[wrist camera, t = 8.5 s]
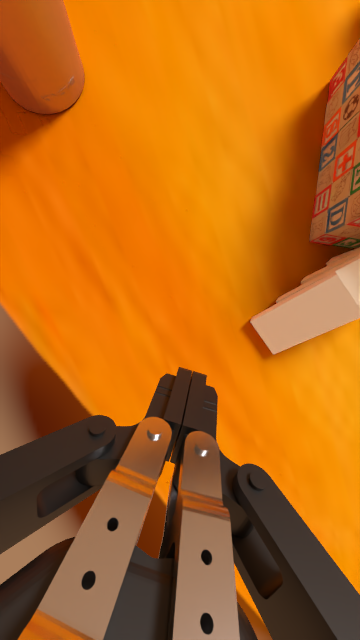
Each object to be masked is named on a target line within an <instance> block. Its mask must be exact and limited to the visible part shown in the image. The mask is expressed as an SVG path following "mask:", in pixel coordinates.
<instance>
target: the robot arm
mask: <svg viewBox="0 0 360 640" xmlns="http://www.w3.org/2000/svg"><path fill="white" fill-rule="evenodd" d="M0 82H1V83H2V85H3V86H4V88H5V89H6V91H7V92H8V93H9V95H10V96H11V98H12V99H13V100H14V101H15V102H16V103H18V104H19V105H20V106H22V107H23V108H25V109H27V110H29V111H32V112H35V113H40V114H54V113H58V112H61V111H63V110H65V109H67V108H69V107H70V106H71V105H72V104H74V103H75V101H76V100H77V99H78V98H79V96H80V94H81V92H82V89H83V85H84V70H83V66H82V63H81V59H80V56H79V53H78V49H77V46H76V43H75V39H74V36H73V33H72V29H71V25H70V22H69V19H68V15H67V12H66V9H65V5H64V2H63V0H0ZM191 374H192V376H191ZM206 377H207V375H204V374H201V373H198V372H195V371H193V373H192V371H191V370H188V369H184V368H181V367H179V369H178V372H177V376H174V375H170V374H165V375H164V376H163V377H162V378H160V381H159V383H158V386H157V388H156V391H155V393H154V396H153V398H152V401H151V403H150V406H149V409H148V411H147V414H146V416H145V418H144V419H143V420H142V421H141V422H140V423H138V424H136V425H133V426H116V425H115V423H114V421H113V420H112V419H110V418H109V417H107V416H103V415H95V416H91V417H89V418H86V419H84V420H82V421H79V422H77V423H75V424H72V425H70V426H68V427H65V428H63V429H60V430H58V431H56V432H53V433H51V434H49V435H46V436H44V437H42V438H39V439H37V440H34V441H32V442H30V443H27V444H25V445H23V446H20V447H18V448H15V449H13V450H11V451H9V452H6V453H4V454H1V455H0V554H1V553H3V552H4V551H6V550H7V549H9V548H10V547H12V546H14V545H15V544H17V543H18V542H20V541H21V540H22V539H24V538H26V537H27V536H29V535H30V534H32V533H33V532H35V531H37V530H38V529H40V528H41V527H43V526H44V525H46V524H47V523H49V522H50V521H52V520H53V519H55V518H56V517H58V516H59V515H61V514H62V513H64V512H66V511H67V510H69V509H70V508H72V507H73V506H75V505H76V504H78V503H79V502H81V501H83V500H84V499H85V498H87V497H89V496H90V495H92V494H93V493H95V492H96V491H98V490H99V489H101V490H100V492H99V494H98V496H97V498H96V500H95V502H94V504H93V505H92V507H91V509H90V511H89V513H88V515H87V517H86V519H85V521H84V522H83V524H82V526H81V528H80V530H79V532H78V533H77V535H76V537H73V538H70V539H66V540H64V541H62V542H60V543H57V544H55V545H54V546H52V547H50V548H49V549H48V550H46V551H44V552H43V553H42V554H40V555H39V556H38V557H36V558H35V559H34V560H32V561H31V562H30V563H28V564H27V565H26V566H24V567H23V568H22V569H20V570H19V571H18V572H17V573H15V574H14V575H13V576H11V577H10V578H9V579H7V580H6V581H5V582H3V583H2V584H1V585H0V640H258V639H257V637H256V635H255V632H254V630H253V628H252V626H251V624H250V622H249V620H248V618H247V616H246V615H245V613H244V611H243V609H242V608H241V607H240V605H239V604H238V602H237V600H236V599H237V598H236V586H235V573H234V563H235V565H236V567H237V569H238V571H239V573H240V575H241V577H242V579H243V581H244V583H245V585H246V587H247V589H248V591H249V593H250V595H251V597H252V599H253V601H254V603H255V605H256V607H257V609H258V611H259V613H260V615H261V617H262V619H263V621H264V623H265V625H266V627H267V629H268V631H269V633H270V635H271V637H272V639H273V640H360V595H359V593H358V592H357V591H356V590H355V588H354V587H353V586H352V584H351V583H350V582H349V580H348V579H347V578H346V576H345V575H344V574H343V572H342V571H341V570H340V568H339V567H338V566H337V564H336V563H335V562H334V561H333V559H332V558H331V557H330V555H329V554H328V553H327V551H326V550H325V549H324V547H323V546H322V545H321V543H320V542H319V541H318V539H317V538H316V537H315V535H314V534H313V533H312V532H311V530H310V529H309V528H308V526H307V525H306V524H305V522H304V521H303V520H302V518H301V517H300V516H299V514H298V513H297V512H296V510H295V509H294V508H293V506H292V505H291V504H290V503H289V501H288V500H287V499H286V497H285V496H284V495H283V493H282V492H281V491H280V489H279V488H278V487H277V485H276V484H275V483H274V481H273V480H272V479H271V477H270V476H269V475H268V474H267V473H266V472H265V471H264V470H263V469H262V468H260V467H259V466H256V465H254V464H244V465H242V466H241V467H240V466H238V465H237V464H235V463H234V462H232V461H231V460H229V459H228V458H227V457H226V456H224V455H223V453H222V452H221V451H220V449H219V447H218V444H217V442H216V425H217V399H218V396H217V393H216V391H215V389H214V388H213V387H210V386H207V385H206ZM172 450H173V451H172ZM171 453H172V456H171ZM170 456H171V460H170V462H171V463H174V464H175V467H174V472H173V476H172V478H171V482H170V488H169V496H168V503H167V511H166V519H165V526H164V534H163V540H162V544H161V548H160V553H159V558H158V559H155V558H152V557H150V556H149V555H147V554H146V553H145V552H143V551H142V550H141V549H140V548H138V547H137V546H136V544H137V541H138V538H139V535H140V532H141V528H142V525H143V523H144V520H145V517H146V514H147V511H148V508H149V504H150V502H151V499H152V495H153V493H154V490H155V487H156V484H157V481H158V478H159V477H160V475H161V473H162V470H163V467H164V464H165V461H168V462H169V459H170Z"/></svg>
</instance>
